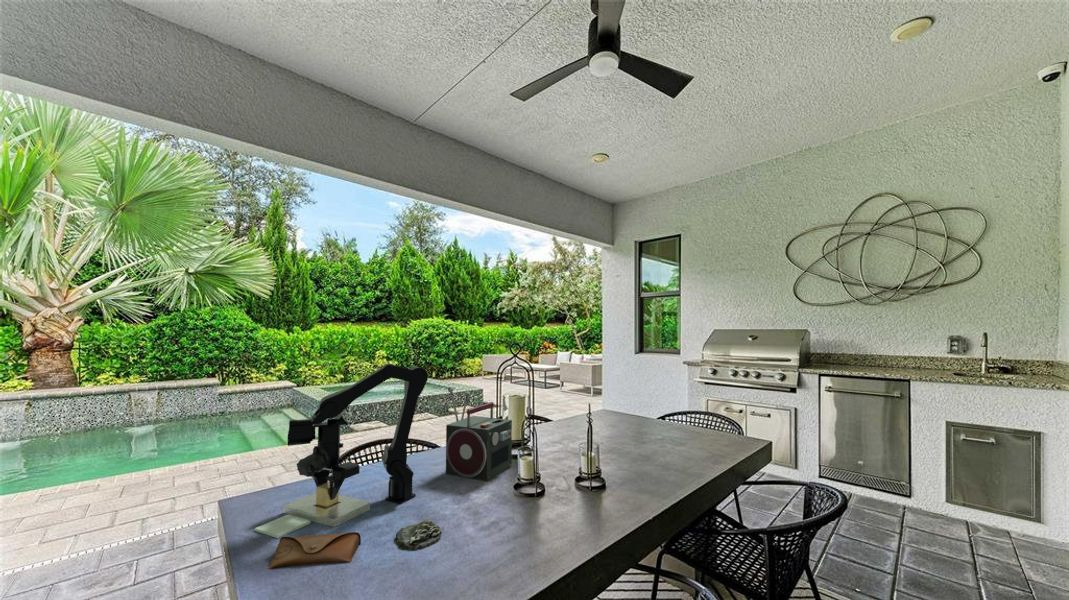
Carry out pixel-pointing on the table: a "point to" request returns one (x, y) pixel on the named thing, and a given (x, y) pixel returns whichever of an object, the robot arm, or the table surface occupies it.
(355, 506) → the aluminium plate
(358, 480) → the table surface
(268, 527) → the sage mat
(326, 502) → the brass peg
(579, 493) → the table surface
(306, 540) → the sunglasses case
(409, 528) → the mossy grey rock
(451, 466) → the boombox
